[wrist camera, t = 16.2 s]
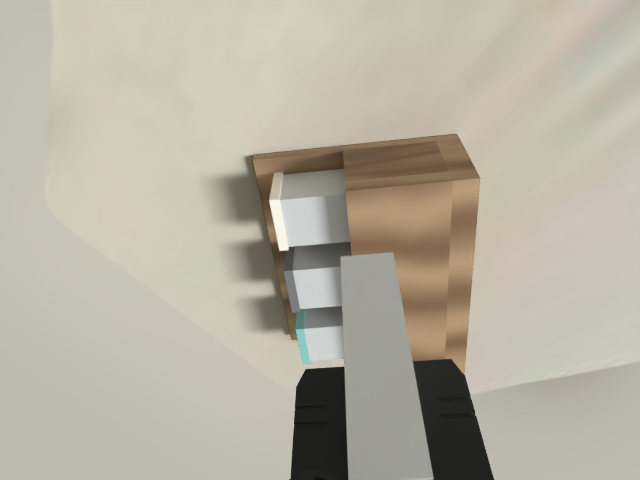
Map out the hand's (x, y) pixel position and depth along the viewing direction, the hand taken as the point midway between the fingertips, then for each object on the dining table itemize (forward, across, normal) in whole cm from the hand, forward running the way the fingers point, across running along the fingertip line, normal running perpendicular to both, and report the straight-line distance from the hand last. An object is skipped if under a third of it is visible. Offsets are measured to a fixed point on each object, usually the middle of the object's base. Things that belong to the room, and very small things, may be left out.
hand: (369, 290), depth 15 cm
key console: (+29, 0, -20) cm, 36 cm away
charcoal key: (+28, -1, -20) cm, 35 cm away
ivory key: (+28, -1, -13) cm, 31 cm away
